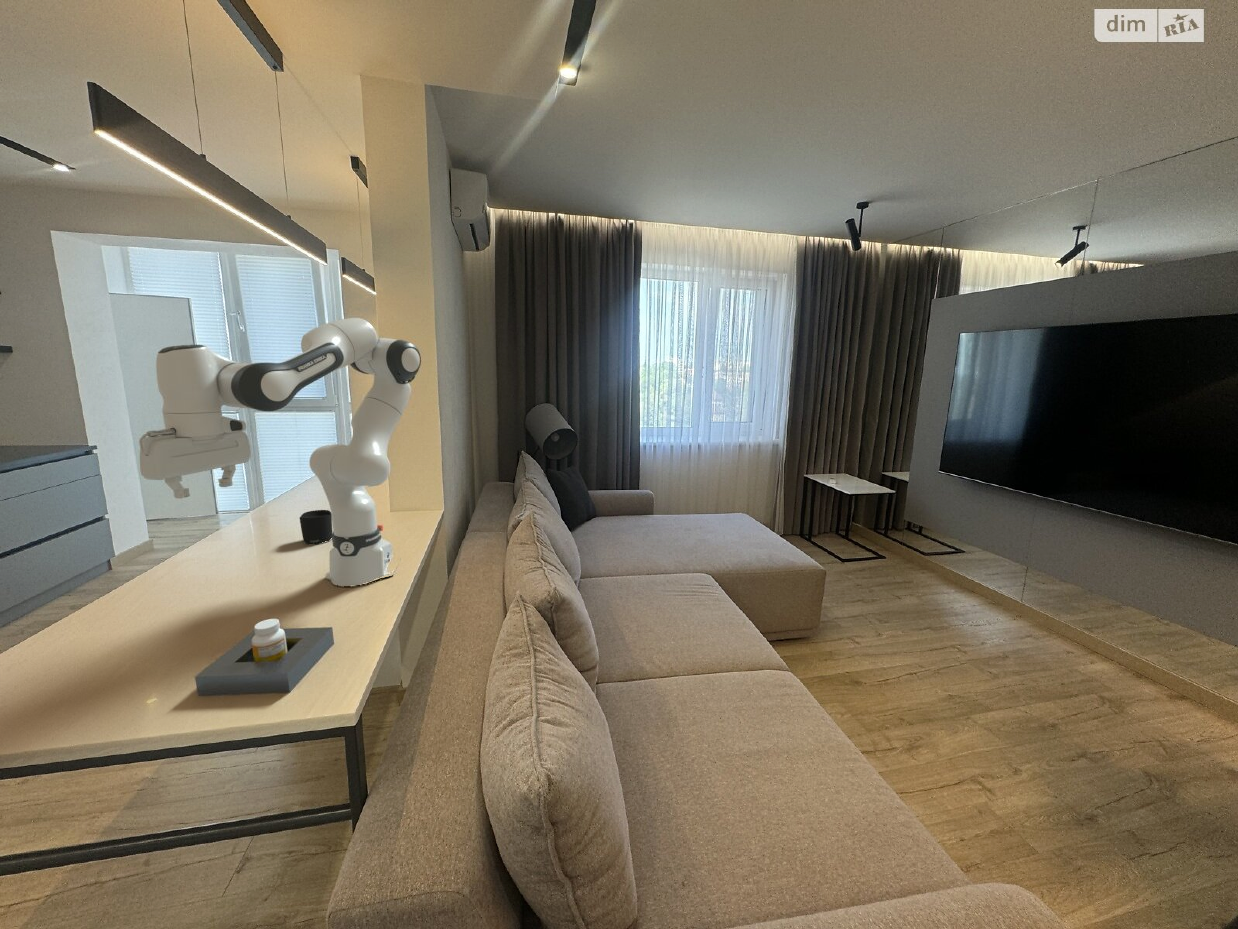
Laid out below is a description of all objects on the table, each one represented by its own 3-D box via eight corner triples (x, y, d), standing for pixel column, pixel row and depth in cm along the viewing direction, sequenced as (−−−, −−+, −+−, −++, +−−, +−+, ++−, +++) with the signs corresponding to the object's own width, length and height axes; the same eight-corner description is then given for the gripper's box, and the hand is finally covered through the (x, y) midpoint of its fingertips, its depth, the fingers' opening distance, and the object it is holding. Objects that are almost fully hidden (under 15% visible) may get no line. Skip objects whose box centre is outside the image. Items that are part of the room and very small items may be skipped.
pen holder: (295, 543, 160) (292, 516, 158) (320, 534, 169) (317, 508, 167) (316, 546, 157) (313, 519, 155) (340, 538, 166) (337, 511, 164)
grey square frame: (257, 646, 100) (255, 629, 99) (334, 643, 102) (332, 627, 101) (198, 696, 85) (194, 676, 84) (289, 692, 86) (287, 673, 85)
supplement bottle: (260, 662, 95) (254, 619, 93) (292, 657, 97) (286, 614, 95) (251, 678, 90) (245, 633, 88) (284, 672, 92) (279, 628, 90)
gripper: (154, 432, 83) (166, 506, 85) (252, 421, 103) (260, 481, 106) (122, 431, 83) (136, 504, 86) (226, 421, 103) (234, 480, 106)
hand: (205, 491), depth 96 cm, fingers open, 8 cm apart
